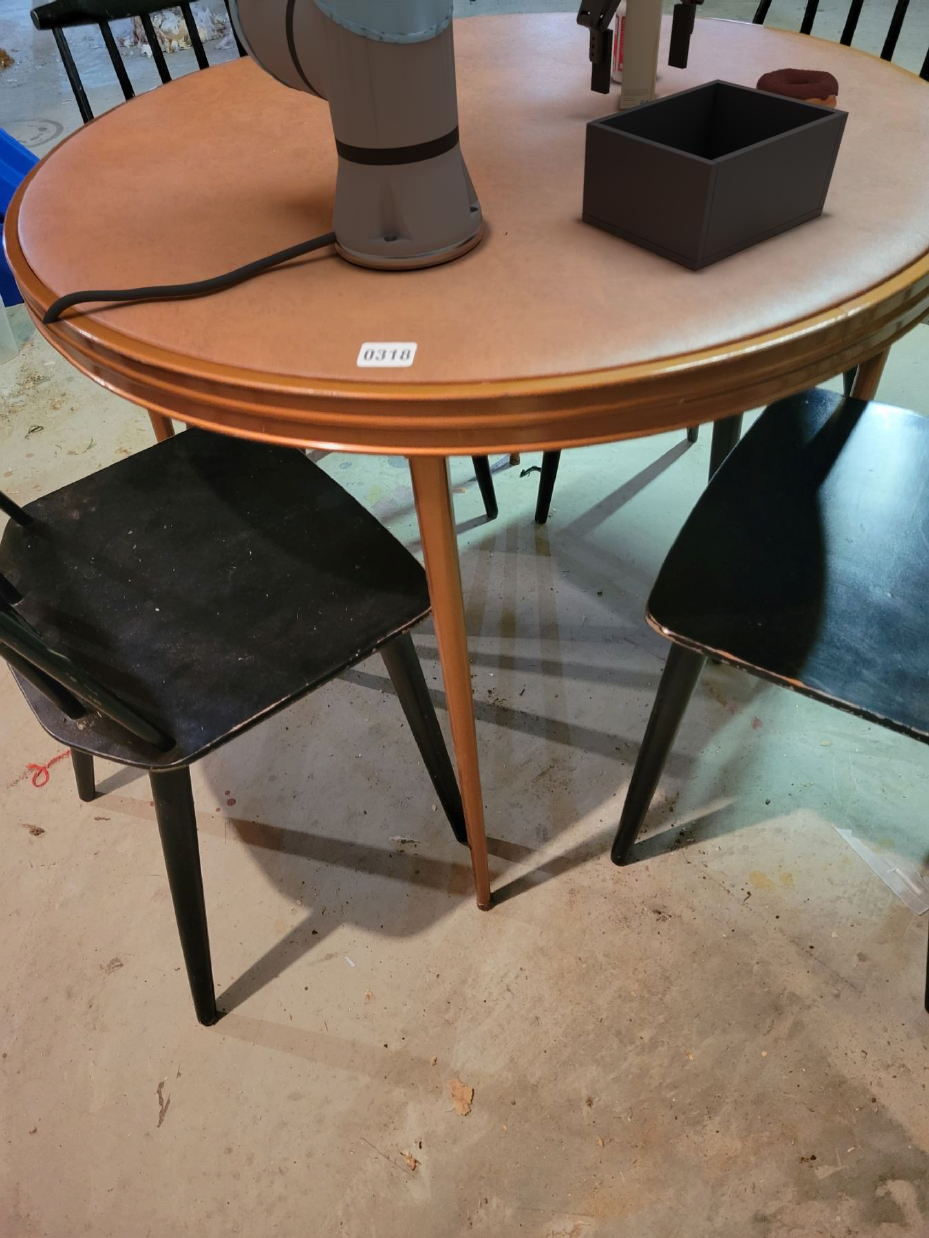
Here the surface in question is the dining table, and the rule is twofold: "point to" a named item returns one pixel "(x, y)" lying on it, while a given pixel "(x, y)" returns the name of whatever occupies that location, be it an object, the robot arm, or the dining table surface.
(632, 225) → the storage bin
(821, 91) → the donut
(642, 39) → the cosmetic box
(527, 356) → the dining table surface
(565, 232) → the dining table surface
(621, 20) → the pill bottle
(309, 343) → the dining table surface
